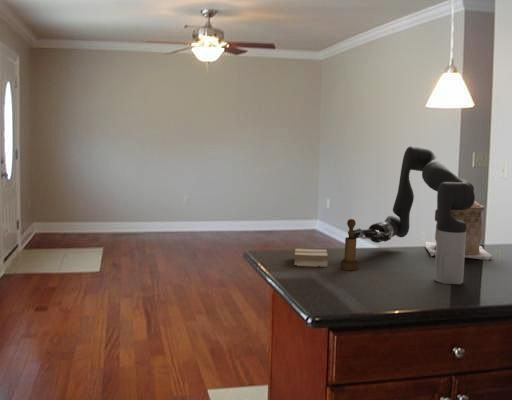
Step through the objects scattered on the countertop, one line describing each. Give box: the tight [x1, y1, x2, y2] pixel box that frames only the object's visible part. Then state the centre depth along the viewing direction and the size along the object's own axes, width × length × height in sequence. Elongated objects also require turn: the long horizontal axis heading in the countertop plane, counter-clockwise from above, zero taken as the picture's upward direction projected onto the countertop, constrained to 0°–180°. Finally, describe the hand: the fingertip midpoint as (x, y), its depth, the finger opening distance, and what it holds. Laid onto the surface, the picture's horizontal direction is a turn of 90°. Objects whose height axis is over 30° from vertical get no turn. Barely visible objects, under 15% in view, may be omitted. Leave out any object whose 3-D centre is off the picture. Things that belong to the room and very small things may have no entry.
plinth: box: [293, 247, 329, 268], centre depth 218 cm, size 12×12×4 cm
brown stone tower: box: [424, 178, 493, 261], centre depth 241 cm, size 25×25×32 cm
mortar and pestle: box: [340, 218, 360, 271], centre depth 209 cm, size 7×6×18 cm
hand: (363, 237), depth 218 cm, fingers open, 8 cm apart
